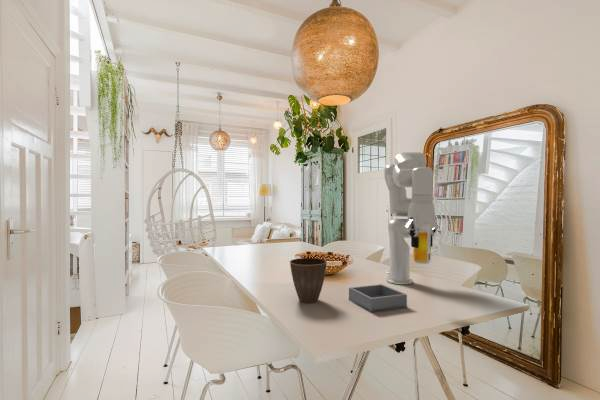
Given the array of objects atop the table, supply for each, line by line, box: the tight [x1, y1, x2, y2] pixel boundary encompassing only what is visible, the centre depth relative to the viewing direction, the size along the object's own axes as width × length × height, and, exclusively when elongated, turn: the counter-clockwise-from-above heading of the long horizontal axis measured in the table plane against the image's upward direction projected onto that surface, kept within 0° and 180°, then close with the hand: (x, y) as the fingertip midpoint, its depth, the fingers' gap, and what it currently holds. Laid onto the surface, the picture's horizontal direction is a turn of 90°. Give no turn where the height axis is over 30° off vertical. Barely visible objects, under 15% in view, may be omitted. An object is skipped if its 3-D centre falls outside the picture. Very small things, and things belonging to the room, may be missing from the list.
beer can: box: [412, 224, 431, 265], centre depth 122 cm, size 6×6×15 cm
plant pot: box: [289, 257, 328, 304], centre depth 129 cm, size 15×15×16 cm
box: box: [348, 283, 408, 314], centre depth 126 cm, size 16×16×5 cm
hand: (421, 246), depth 122 cm, fingers closed on beer can, 6 cm apart
